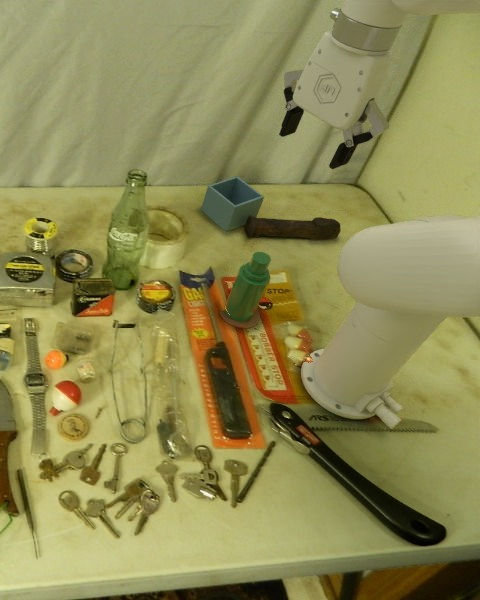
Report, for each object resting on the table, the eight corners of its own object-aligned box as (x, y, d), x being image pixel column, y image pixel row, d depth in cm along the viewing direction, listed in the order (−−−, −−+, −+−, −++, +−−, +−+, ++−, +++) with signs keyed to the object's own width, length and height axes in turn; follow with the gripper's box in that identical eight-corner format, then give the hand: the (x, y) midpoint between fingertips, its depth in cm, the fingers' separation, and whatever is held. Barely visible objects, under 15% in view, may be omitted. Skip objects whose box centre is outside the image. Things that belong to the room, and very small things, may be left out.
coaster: (267, 319, 91) (268, 318, 91) (237, 334, 88) (238, 332, 88) (239, 293, 95) (240, 292, 95) (210, 306, 92) (210, 305, 92)
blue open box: (254, 222, 110) (264, 196, 105) (225, 233, 106) (235, 207, 102) (228, 201, 114) (237, 175, 109) (200, 211, 111) (207, 185, 106)
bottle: (259, 315, 91) (284, 262, 82) (238, 326, 89) (261, 272, 80) (239, 297, 94) (261, 243, 85) (218, 306, 92) (239, 252, 83)
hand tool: (245, 240, 105) (253, 222, 102) (242, 227, 108) (249, 209, 105) (339, 248, 106) (349, 230, 103) (333, 235, 109) (343, 217, 105)
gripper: (293, 11, 71) (252, 128, 83) (406, 64, 61) (341, 186, 74) (329, 4, 74) (284, 117, 86) (442, 54, 65) (373, 172, 77)
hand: (310, 149), depth 80 cm, fingers open, 9 cm apart
